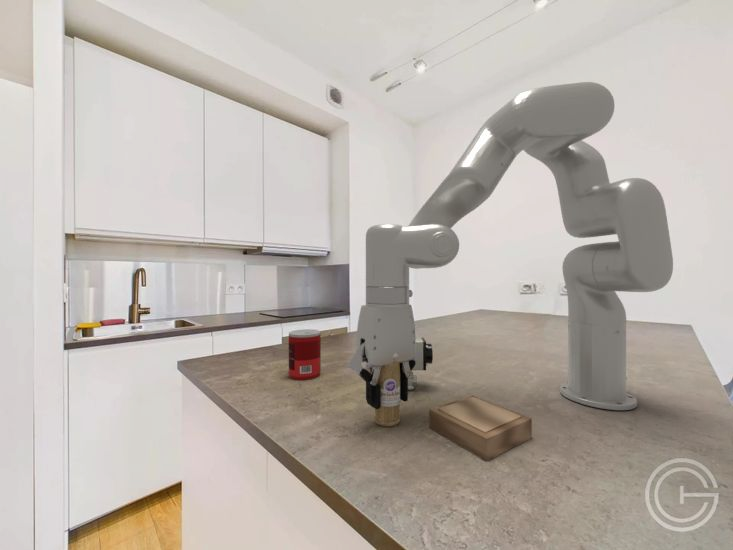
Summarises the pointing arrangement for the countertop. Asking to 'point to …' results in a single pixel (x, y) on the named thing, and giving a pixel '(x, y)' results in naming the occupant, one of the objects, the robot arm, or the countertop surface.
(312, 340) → the canned food
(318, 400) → the countertop surface
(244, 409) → the countertop surface
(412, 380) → the pneumatic valve
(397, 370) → the sprinkles bottle
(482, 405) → the tan square tray
